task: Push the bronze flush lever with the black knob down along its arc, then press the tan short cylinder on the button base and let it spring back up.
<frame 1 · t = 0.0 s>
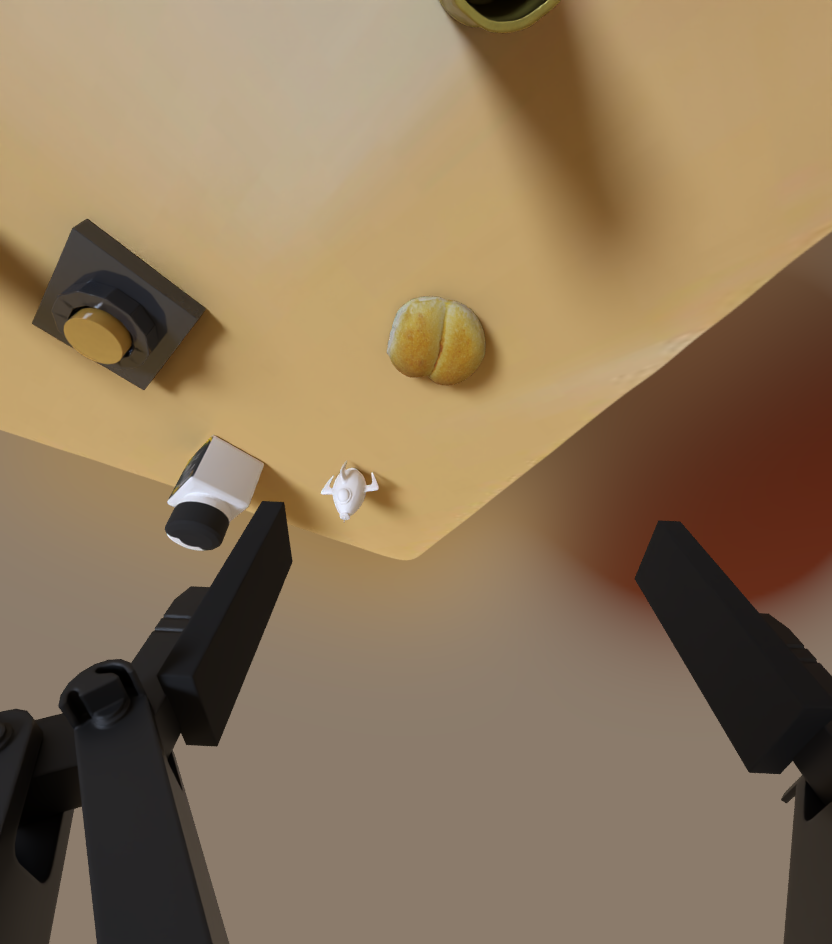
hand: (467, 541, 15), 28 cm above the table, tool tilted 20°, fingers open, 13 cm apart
rocket toy: (353, 471, 55), on the table
button base: (124, 310, 39), on the table
medicine bottle: (227, 460, 55), on the table
bread roll: (435, 335, 40), on the table
tan short cylinder: (99, 336, 36), point 4 cm above the table, slide at 0.1 cm
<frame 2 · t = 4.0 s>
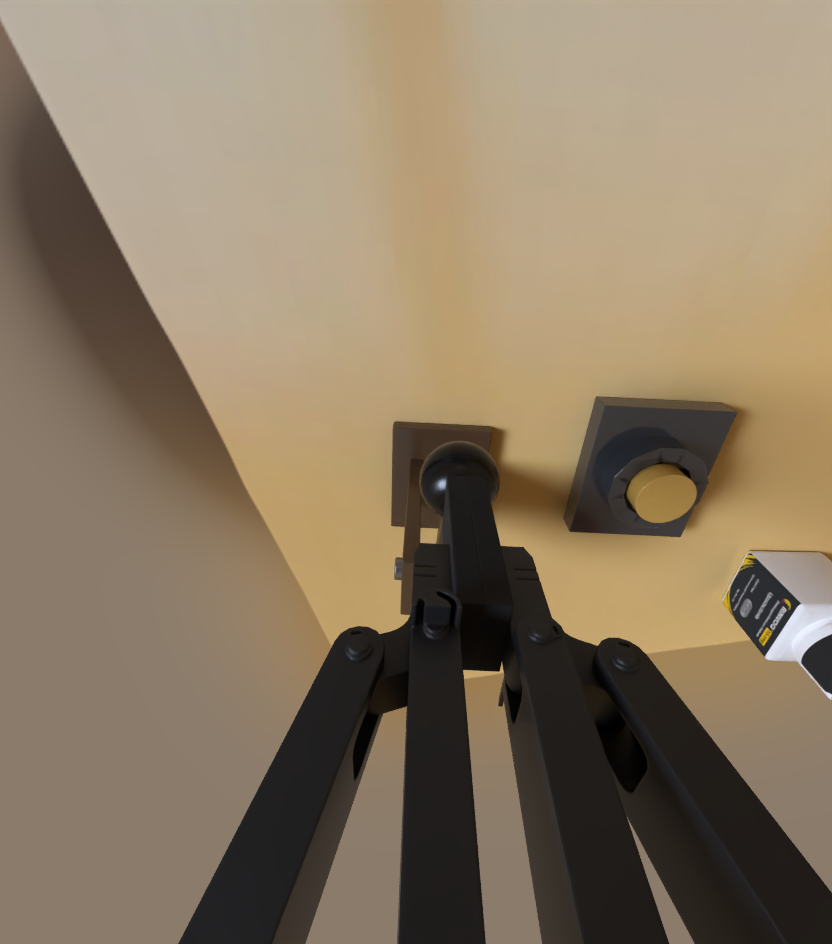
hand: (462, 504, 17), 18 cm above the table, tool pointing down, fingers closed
flush lever: (449, 531, 23), point 14 cm above the table, hinge at 23.2°, touching gripper
button base: (635, 465, 36), on the table
medicine bottle: (766, 575, 43), on the table
lever bracket: (437, 475, 37), on the table
tan short cylinder: (660, 493, 33), point 4 cm above the table, slide at 0.1 cm
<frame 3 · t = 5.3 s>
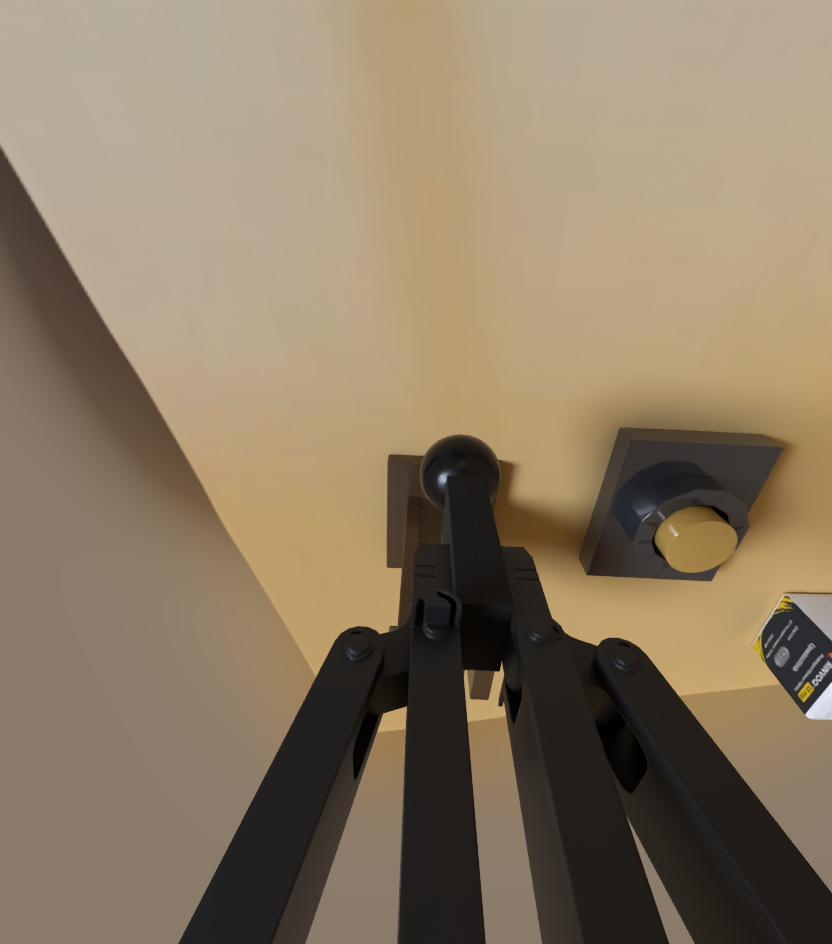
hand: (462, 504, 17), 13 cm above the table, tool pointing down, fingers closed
flush lever: (451, 563, 21), point 11 cm above the table, hinge at -6.4°, touching gripper
button base: (662, 502, 32), on the table
medicine bottle: (802, 618, 38), on the table
lever bracket: (438, 512, 33), on the table
tan short cylinder: (694, 539, 28), point 4 cm above the table, slide at 0.1 cm
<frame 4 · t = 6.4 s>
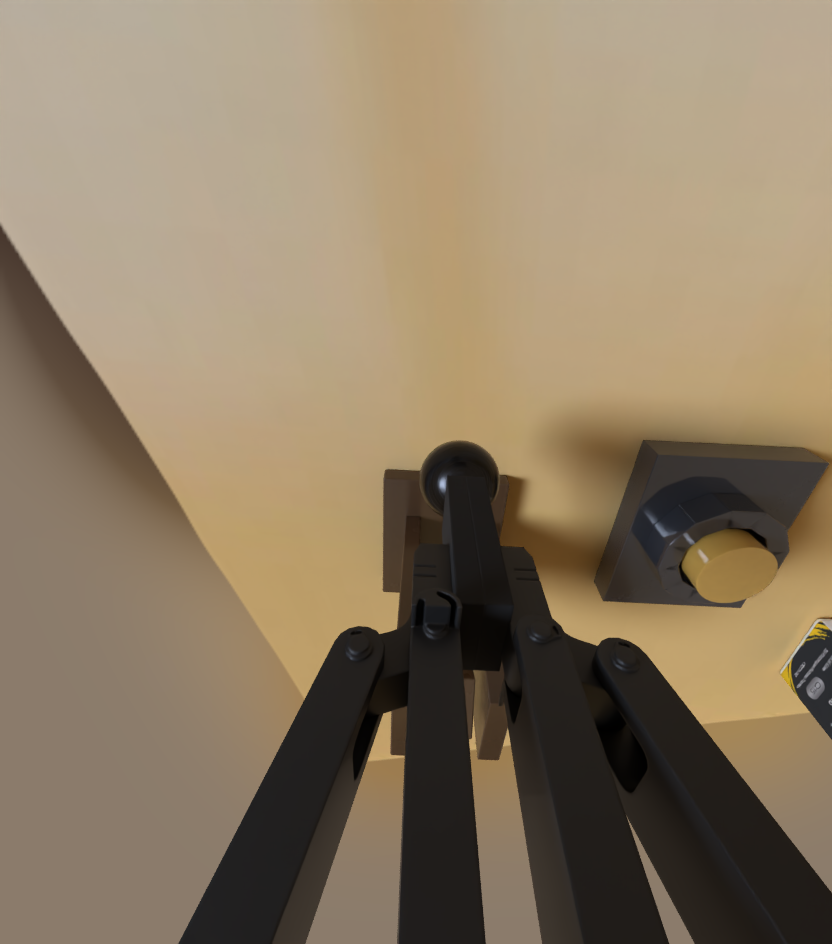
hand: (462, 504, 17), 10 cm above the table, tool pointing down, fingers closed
flush lever: (453, 584, 19), point 10 cm above the table, hinge at -25.6°, touching gripper
button base: (687, 521, 29), on the table
lever bracket: (440, 532, 30), on the table
tan short cylinder: (727, 566, 25), point 4 cm above the table, slide at 0.1 cm
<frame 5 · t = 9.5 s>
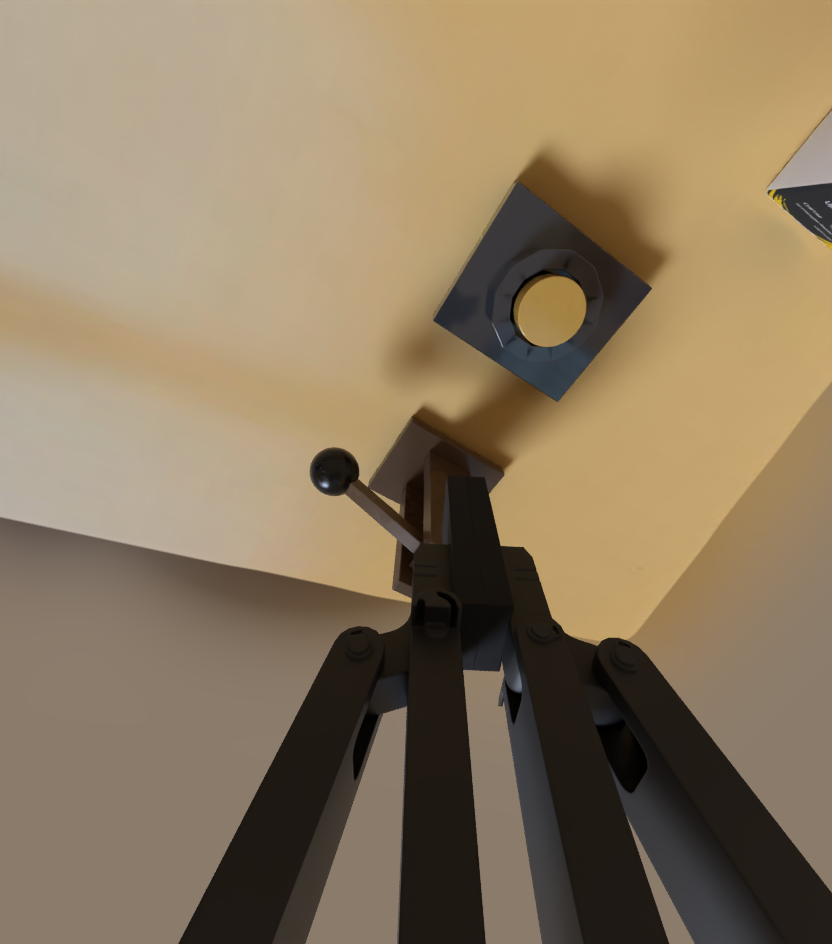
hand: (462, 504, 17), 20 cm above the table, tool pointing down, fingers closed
flush lever: (383, 513, 30), point 10 cm above the table, hinge at -25.6°
button base: (534, 300, 32), on the table
lever bracket: (435, 475, 40), on the table
tan short cylinder: (548, 310, 28), point 4 cm above the table, slide at 0.1 cm
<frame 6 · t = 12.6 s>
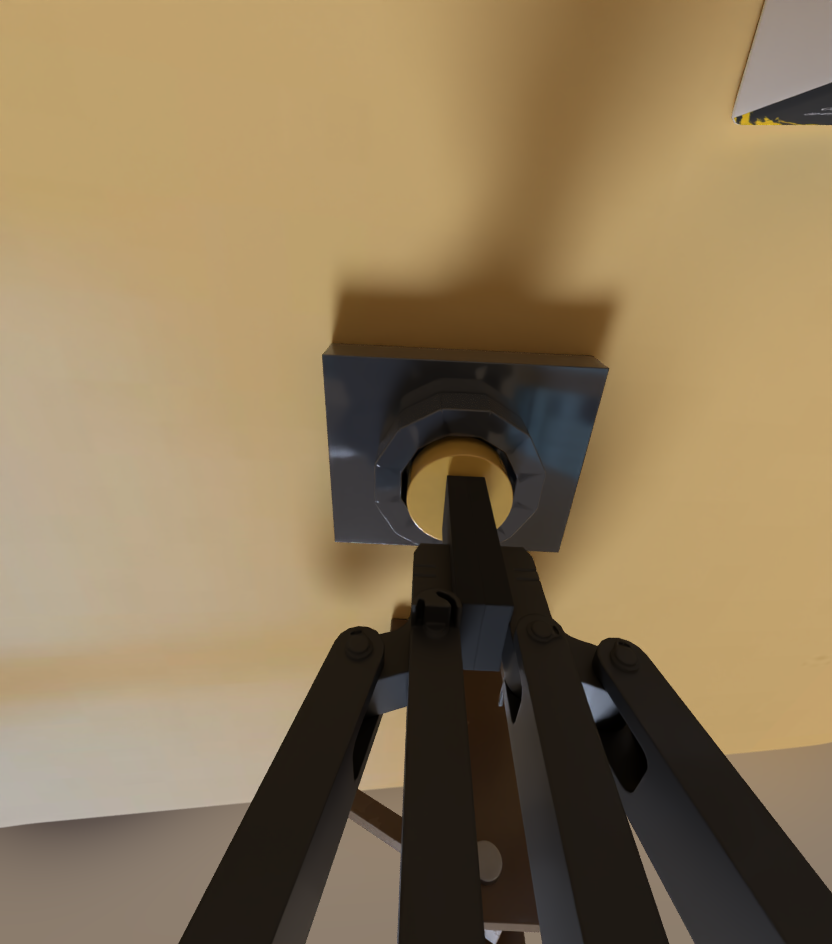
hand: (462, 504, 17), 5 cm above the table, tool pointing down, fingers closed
flush lever: (383, 822, 22), point 10 cm above the table, hinge at -25.6°
button base: (452, 447, 22), on the table
lever bracket: (460, 659, 30), on the table
tan short cylinder: (458, 490, 18), point 4 cm above the table, slide at -0.2 cm, touching gripper
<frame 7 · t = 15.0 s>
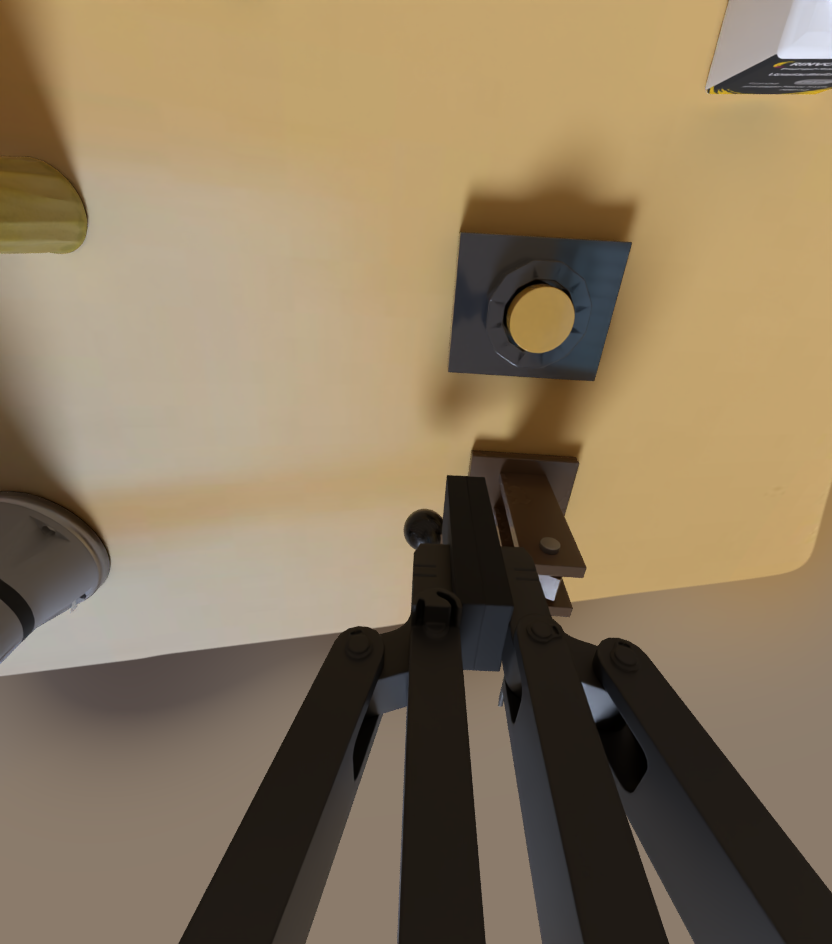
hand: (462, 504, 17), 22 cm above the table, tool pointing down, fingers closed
flush lever: (477, 549, 34), point 10 cm above the table, hinge at -25.6°
button base: (527, 308, 34), on the table
vase: (48, 208, 32), on the table
medicine bottle: (781, 17, 25), on the table
lever bracket: (516, 488, 42), on the table
tan short cylinder: (539, 318, 30), point 4 cm above the table, slide at 0.1 cm
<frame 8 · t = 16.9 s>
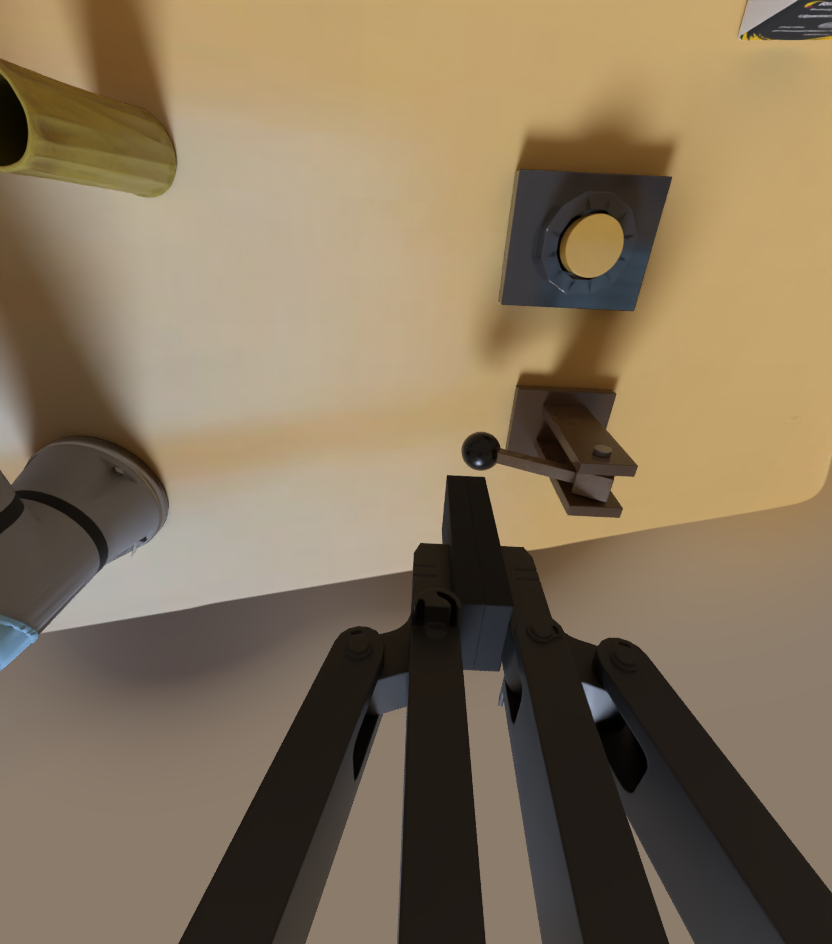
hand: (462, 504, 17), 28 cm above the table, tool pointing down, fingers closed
flush lever: (532, 464, 37), point 10 cm above the table, hinge at -25.6°
button base: (573, 244, 37), on the table
vase: (141, 153, 35), on the table
lever bracket: (556, 422, 46), on the table
tan short cylinder: (590, 246, 33), point 4 cm above the table, slide at 0.1 cm
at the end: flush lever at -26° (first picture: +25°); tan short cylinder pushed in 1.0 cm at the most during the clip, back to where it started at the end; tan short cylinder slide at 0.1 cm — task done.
